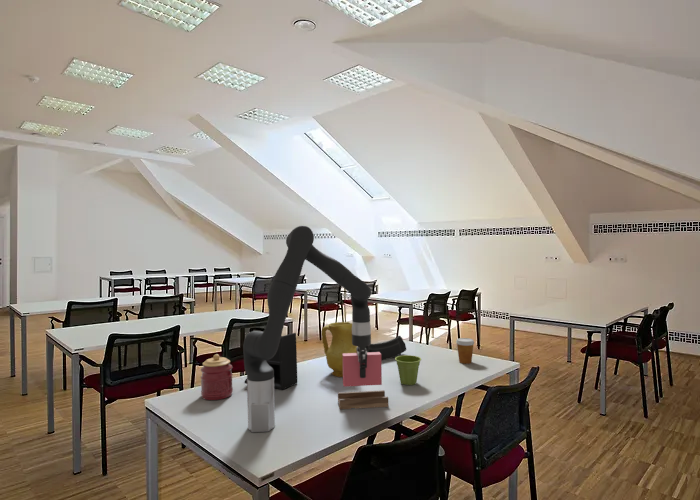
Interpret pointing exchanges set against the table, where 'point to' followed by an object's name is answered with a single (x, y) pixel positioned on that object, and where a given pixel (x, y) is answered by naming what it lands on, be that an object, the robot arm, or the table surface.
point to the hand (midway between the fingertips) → (362, 375)
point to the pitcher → (338, 345)
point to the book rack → (362, 399)
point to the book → (353, 371)
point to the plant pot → (408, 368)
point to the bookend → (285, 362)
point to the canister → (216, 378)
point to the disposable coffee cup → (465, 350)
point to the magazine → (388, 348)
